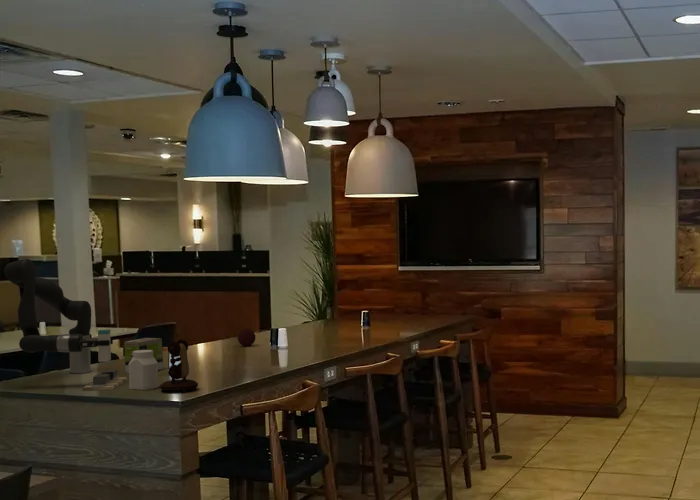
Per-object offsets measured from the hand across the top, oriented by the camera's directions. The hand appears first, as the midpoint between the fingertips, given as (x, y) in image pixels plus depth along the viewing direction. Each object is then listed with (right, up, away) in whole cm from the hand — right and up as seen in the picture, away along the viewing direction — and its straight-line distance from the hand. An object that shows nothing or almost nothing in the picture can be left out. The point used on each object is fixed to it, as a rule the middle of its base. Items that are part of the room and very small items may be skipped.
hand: (110, 342), depth 365 cm
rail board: (-2, -18, 0) cm, 18 cm away
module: (-2, -8, 0) cm, 8 cm away
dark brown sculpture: (+32, -17, -18) cm, 41 cm away
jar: (+16, -18, -9) cm, 26 cm away
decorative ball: (+42, -16, +126) cm, 134 cm away
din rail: (-2, -17, 0) cm, 17 cm away
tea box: (+5, -18, +38) cm, 43 cm away
